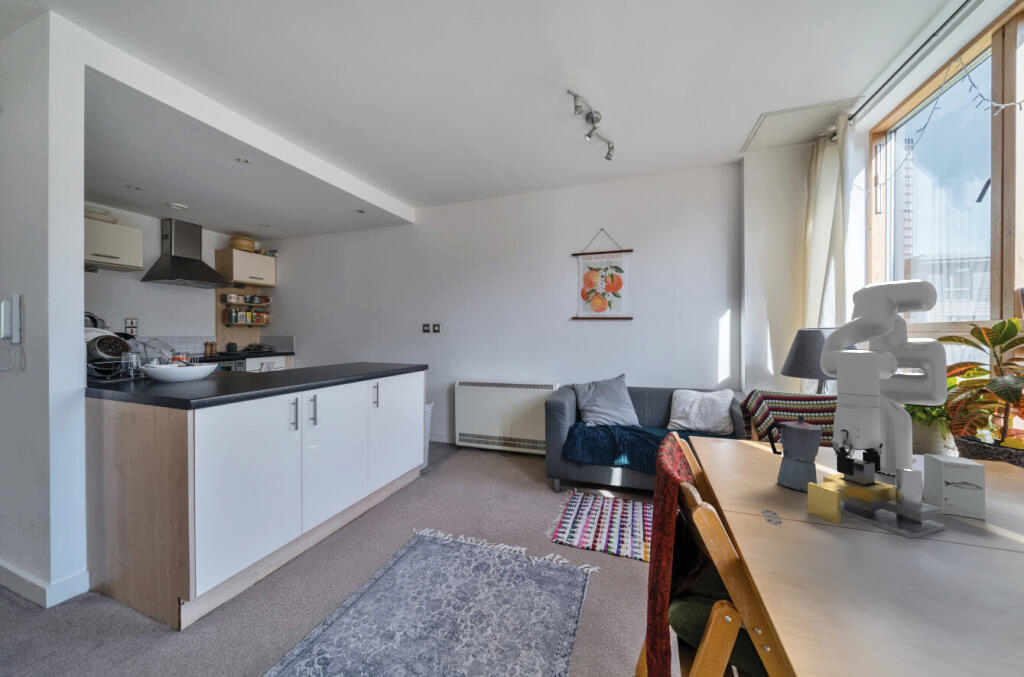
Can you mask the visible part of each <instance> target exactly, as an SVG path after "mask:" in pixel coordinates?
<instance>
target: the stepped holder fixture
mask: <svg viewBox="0 0 1024 677" xmlns="http://www.w3.org/2000/svg"><path fill="white" fill-rule="evenodd" d="M922 474H923V473H922V471H921V470H919V469H915V468H913V469H912V468H907V467H895V476H894V477H895V480H894V482H895V484H894V485H893V484H891V483H890V484H889V483H885V482H882V481H880V480H879V481H878V480H876V479H875V485H874V486H868V487H864V486H861V485H858V484H854V483H851V482H848V481H844V474H843V473H837V474H831V475H824V476H823V477H822V479H823V481H822V482H820V483H818V482H817V484H815V483H812V482H810V483H808V492H807V513H809V514H811V515H813V516H816V517H818V518H821V519H824V520H826V521H828V522H831V523H833V524H836V525H841V524H842V514H844V515H847V516H849V517H852V518H855V519H856V520H857V519H858V520H860V521H863V522H866V523H869V524H871V525H874V526H876V527H878V528H882V529H884V530H887V531H889V532H891V533H892V532H893V533H895V534H897V535H901V536H903V537H905V538H907V539H913V538H917V537H921V536H925V535H930V534H933V533H936V532H940V531H944V530H947V525H946V524H944V523H941V522H938V521H935V520H934V519H938V518H941V513H940V508H939V507H936V506H933V505H929V504H927V503H925V502H923V478H922V476H923V475H922ZM844 502H846V503H849V504H852V505H855V506H857V507H860V508H863V509H866V510H869V511H867V512H863V511H860V510H858V509H855V508H852V507H849V506H846V505H844Z"/></svg>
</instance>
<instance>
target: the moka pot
mask: <svg viewBox="0 0 1024 677" xmlns="http://www.w3.org/2000/svg"><path fill="white" fill-rule="evenodd" d="M805 418H806V417H804V416H802V415H798V416H797V421H781V422H778V421H775V420H774V421H772V422H771V424H770V425H769V426H768V427H767V428H766V434H767V437H768V441H769V445H770V447H771V451H772V454H773V455H777V456H782V455H783V456H782V458H781V462H780V467H779V471H778V475H777V482H778V483H779V484H780V485H782V486H784V487H786V488H790V489H792V490H793V489H794V490H797V491H801V492H807V493H808V483H810V482H812V483H815V484H818V479H817V470H816V469H817V465H816V463H815V462H816V457H817V456H818V453H819V450H820V446H821V445H820V443H821V439H822V435H823V434H824V432H825V431H826V428H824V427H822V426H818V425H814V424H810V423H808V422H804V420H805ZM773 429H777V430H780V435H781V448H782V450H783V451H780V450H777V448H776V444H775V440H774V435H773V432H772V431H773Z"/></svg>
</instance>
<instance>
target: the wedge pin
mask: <svg viewBox="0 0 1024 677" xmlns="http://www.w3.org/2000/svg"><path fill="white" fill-rule="evenodd" d="M852 459H854V476H850V475H846V474H844V481H848V482H851V483H854V484H858V485H861V486H864V487H868V486H874V485H875V480H876V472H875V463H871V462H867V461H863V459H859V458H856V457H854V458H853V457H852ZM844 505H846V506H849V507H852V508H855V509H858V510H860V511H863V512H867V511H869V510H866V509H863V508H860V507H857V506H855V505H852V504H849V503H846V502H844Z"/></svg>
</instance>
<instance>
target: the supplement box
mask: <svg viewBox="0 0 1024 677" xmlns="http://www.w3.org/2000/svg"><path fill="white" fill-rule="evenodd" d="M985 468H986V466H985V465H984V464H981V463H979V462H977V461H973V460H971V459H969V458H966V457H961V456H951V455H950V456H949V455H942V454H933V453H924V454H923V488H924V489H923V492H924V493H923V494H924V495H923V496H924V497H923V498H924V499H923V500H924V502H923V503H926V504H929V505H933V506H936V507H939V508H940V514H949V515H953V516H954V515H955V516H960V517H964V518H965V517H966V518H972V519H977V520H983V521H984V520H986V483H985V482H986V474H985V473H986V470H985Z"/></svg>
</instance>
